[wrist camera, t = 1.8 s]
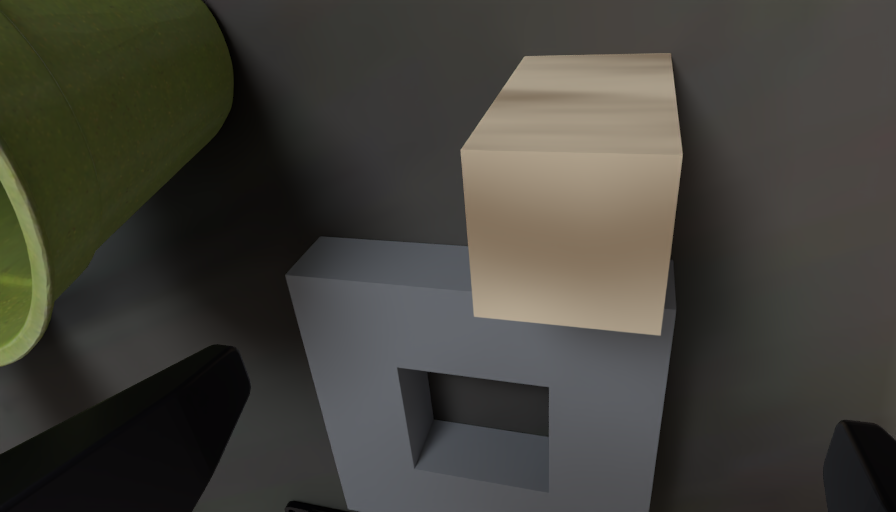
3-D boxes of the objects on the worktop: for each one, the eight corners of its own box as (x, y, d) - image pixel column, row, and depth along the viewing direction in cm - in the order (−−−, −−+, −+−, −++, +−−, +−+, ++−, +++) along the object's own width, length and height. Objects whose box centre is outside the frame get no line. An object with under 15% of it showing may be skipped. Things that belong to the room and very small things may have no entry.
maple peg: (656, 187, 20) (660, 335, 14) (527, 182, 21) (473, 316, 15) (670, 53, 18) (683, 154, 11) (524, 56, 19) (460, 149, 13)
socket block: (641, 509, 29) (641, 569, 26) (370, 461, 32) (347, 509, 30) (673, 260, 21) (676, 309, 19) (319, 236, 25) (284, 274, 23)
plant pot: (148, -214, 18) (-365, -303, 9) (350, 135, 22) (144, 316, 13) (-40, -25, 23) (-480, 41, 14) (152, 227, 28) (-91, 401, 19)
